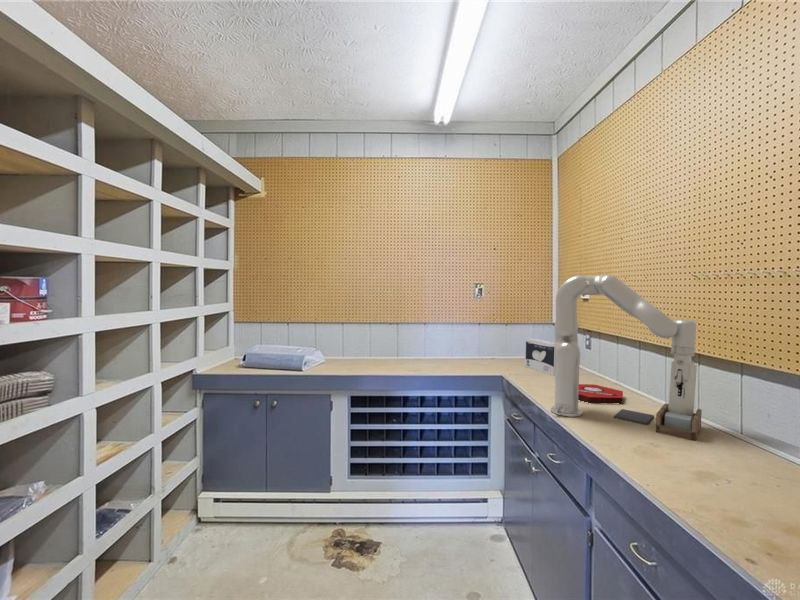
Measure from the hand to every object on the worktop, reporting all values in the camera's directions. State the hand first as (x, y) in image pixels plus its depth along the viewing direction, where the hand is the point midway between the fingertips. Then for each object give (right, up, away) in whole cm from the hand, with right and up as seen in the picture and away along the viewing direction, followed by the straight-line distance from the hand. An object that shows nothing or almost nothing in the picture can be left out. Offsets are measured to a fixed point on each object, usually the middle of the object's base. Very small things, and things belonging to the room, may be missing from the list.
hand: (680, 396), depth 153 cm
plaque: (-14, -11, +42) cm, 46 cm away
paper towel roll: (0, -8, 0) cm, 8 cm away
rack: (-3, -12, -4) cm, 13 cm away
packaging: (-16, -9, +105) cm, 107 cm away
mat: (-12, -11, +10) cm, 19 cm away
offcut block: (-5, -12, -6) cm, 14 cm away
